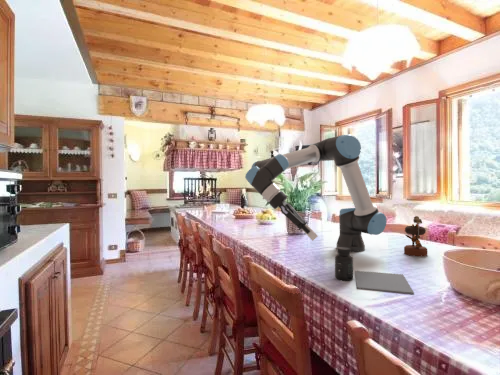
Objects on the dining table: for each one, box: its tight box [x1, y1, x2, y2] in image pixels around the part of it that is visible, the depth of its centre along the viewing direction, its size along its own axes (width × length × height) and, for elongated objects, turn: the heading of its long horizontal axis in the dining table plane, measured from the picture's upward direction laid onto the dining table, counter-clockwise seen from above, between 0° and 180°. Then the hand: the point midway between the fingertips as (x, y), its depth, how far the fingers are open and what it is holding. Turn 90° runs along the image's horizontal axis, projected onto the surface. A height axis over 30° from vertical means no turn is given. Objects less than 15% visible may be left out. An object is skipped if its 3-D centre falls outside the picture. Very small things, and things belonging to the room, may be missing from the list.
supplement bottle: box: [334, 247, 354, 282], centre depth 113 cm, size 7×7×12 cm
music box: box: [403, 215, 428, 258], centre depth 150 cm, size 15×11×20 cm
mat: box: [354, 270, 415, 295], centre depth 109 cm, size 18×20×1 cm
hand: (315, 238), depth 116 cm, fingers closed
